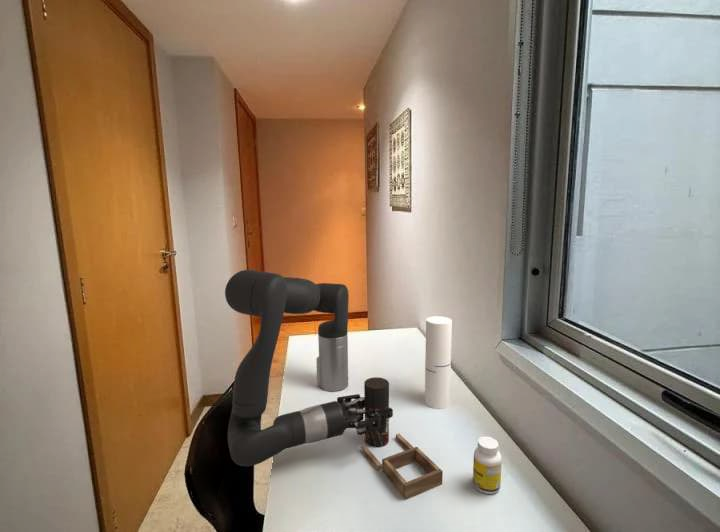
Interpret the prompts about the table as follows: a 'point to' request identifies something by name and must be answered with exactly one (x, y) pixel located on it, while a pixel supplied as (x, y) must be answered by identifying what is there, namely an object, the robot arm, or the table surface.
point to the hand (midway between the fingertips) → (385, 405)
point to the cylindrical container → (438, 362)
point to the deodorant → (374, 401)
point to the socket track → (403, 459)
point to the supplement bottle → (487, 466)
